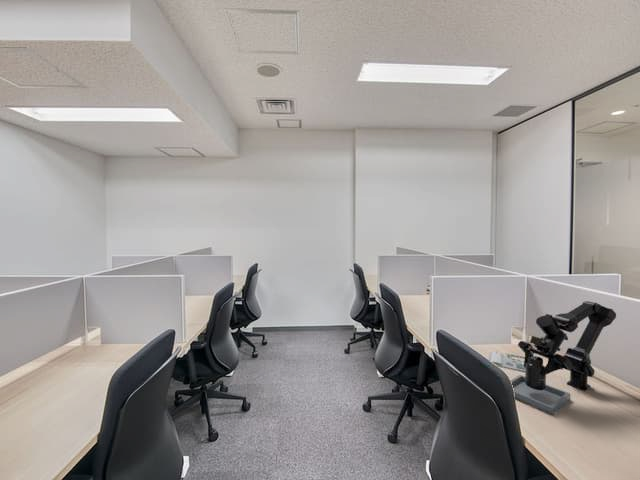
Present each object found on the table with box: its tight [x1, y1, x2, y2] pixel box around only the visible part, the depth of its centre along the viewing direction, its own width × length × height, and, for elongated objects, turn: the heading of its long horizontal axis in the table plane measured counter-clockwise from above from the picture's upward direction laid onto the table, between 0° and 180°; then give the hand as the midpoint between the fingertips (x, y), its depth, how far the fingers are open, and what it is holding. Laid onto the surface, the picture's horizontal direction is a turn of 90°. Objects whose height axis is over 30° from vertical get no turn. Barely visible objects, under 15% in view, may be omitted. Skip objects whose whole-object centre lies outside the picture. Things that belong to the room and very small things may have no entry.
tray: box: [510, 374, 571, 416], centre depth 118 cm, size 18×18×3 cm
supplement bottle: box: [524, 355, 547, 390], centre depth 118 cm, size 7×7×12 cm
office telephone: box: [488, 350, 525, 373], centre depth 149 cm, size 23×3×20 cm
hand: (533, 371), depth 118 cm, fingers closed on supplement bottle, 7 cm apart
